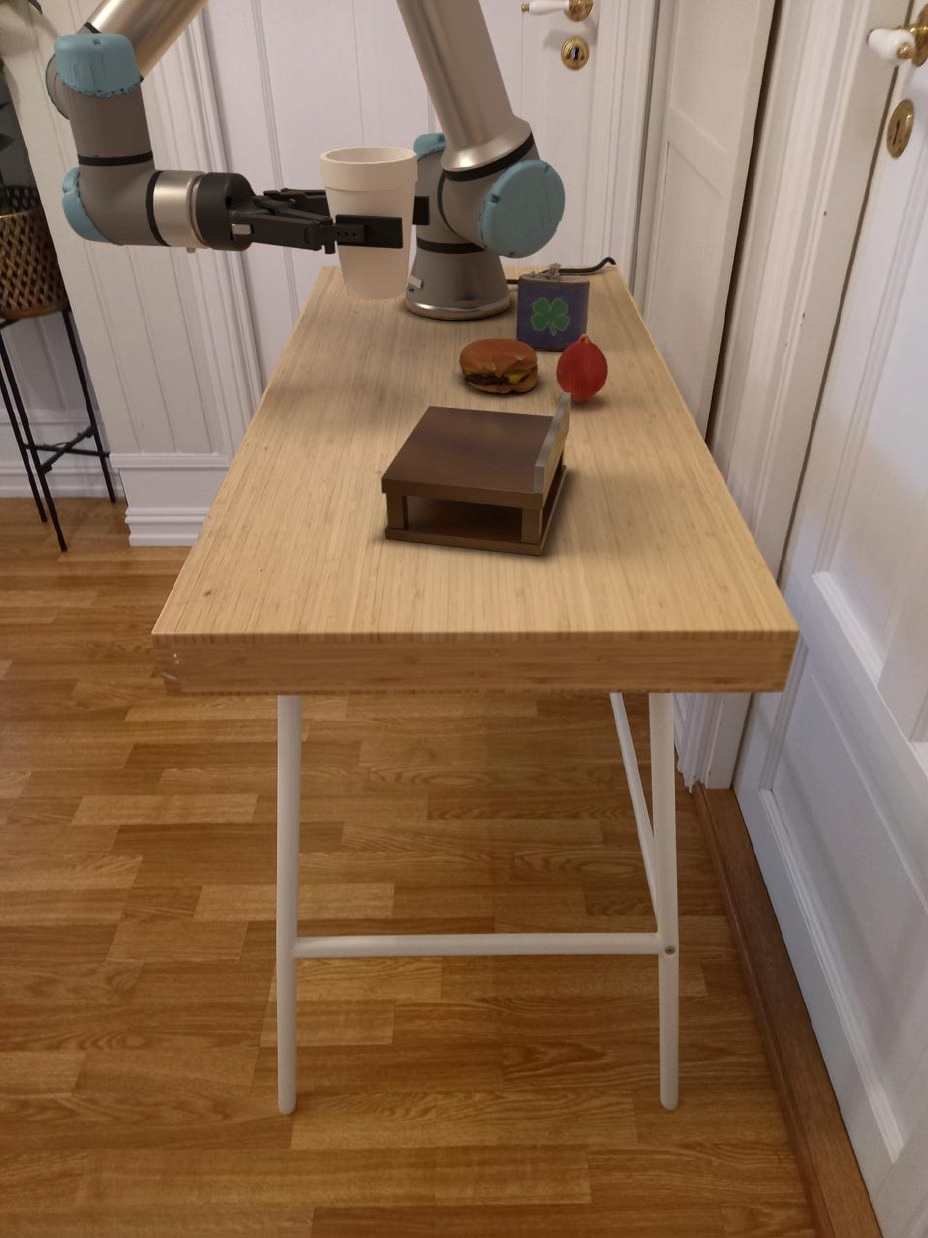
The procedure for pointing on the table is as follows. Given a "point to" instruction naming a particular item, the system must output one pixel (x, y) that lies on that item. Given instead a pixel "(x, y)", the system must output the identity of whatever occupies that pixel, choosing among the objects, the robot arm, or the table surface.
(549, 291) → the flask
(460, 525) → the shelf
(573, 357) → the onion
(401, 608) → the table surface
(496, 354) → the burger
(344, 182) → the foam cup
